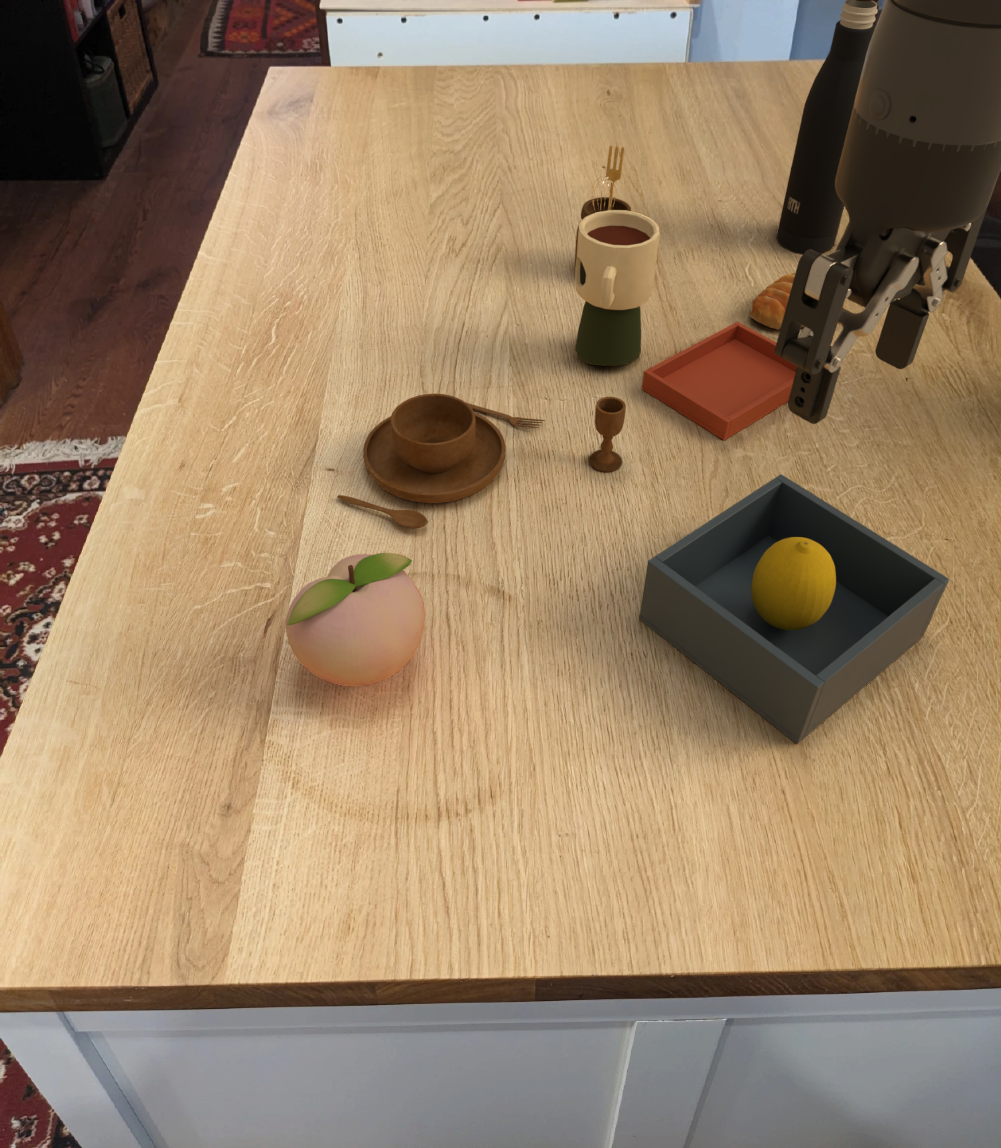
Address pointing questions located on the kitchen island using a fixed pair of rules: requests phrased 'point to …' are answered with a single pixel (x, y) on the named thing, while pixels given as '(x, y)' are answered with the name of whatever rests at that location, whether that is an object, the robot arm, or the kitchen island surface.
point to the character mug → (614, 284)
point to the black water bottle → (825, 136)
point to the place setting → (454, 450)
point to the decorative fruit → (358, 620)
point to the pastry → (773, 302)
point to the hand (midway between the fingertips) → (850, 387)
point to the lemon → (793, 583)
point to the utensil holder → (605, 202)
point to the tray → (723, 380)
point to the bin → (775, 656)
